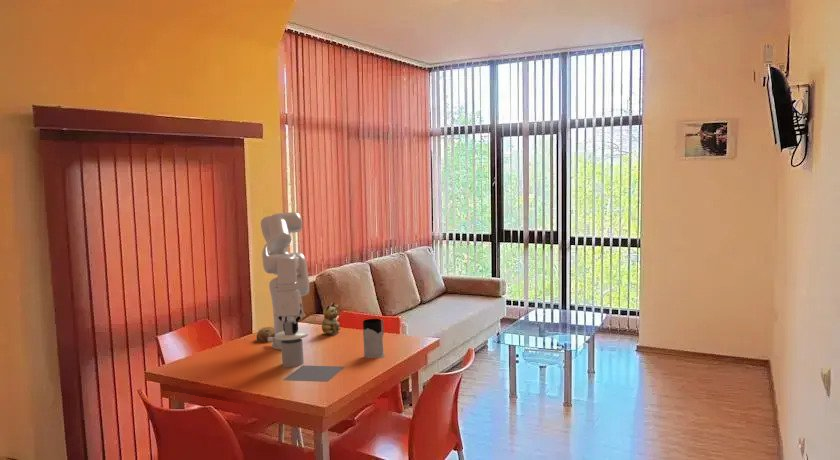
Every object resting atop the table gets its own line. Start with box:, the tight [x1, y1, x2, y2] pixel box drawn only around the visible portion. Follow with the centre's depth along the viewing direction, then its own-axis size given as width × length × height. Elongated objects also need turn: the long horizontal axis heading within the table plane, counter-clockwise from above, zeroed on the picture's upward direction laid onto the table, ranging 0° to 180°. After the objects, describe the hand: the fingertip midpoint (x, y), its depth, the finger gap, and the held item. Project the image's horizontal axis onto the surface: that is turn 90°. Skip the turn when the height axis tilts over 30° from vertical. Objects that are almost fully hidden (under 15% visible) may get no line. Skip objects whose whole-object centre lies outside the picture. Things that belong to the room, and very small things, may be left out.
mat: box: [282, 364, 346, 382], centre depth 240 cm, size 18×18×1 cm
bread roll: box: [256, 326, 275, 343], centre depth 298 cm, size 10×10×8 cm
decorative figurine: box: [321, 302, 341, 336], centre depth 303 cm, size 10×8×15 cm
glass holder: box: [362, 318, 386, 359], centre depth 263 cm, size 9×14×15 cm, turn 156°
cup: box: [281, 338, 305, 368], centre depth 254 cm, size 8×8×10 cm
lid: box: [275, 320, 309, 340], centre depth 253 cm, size 13×13×6 cm
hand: (291, 332), depth 253 cm, fingers closed on lid, 3 cm apart
